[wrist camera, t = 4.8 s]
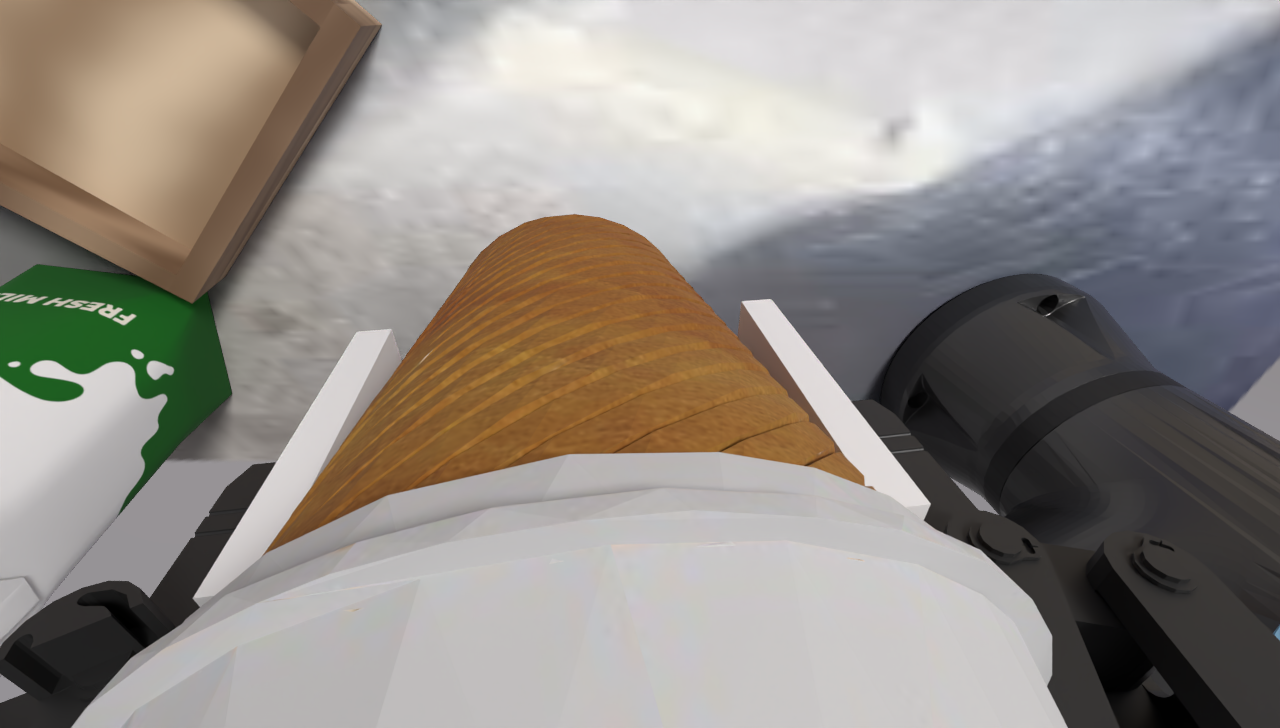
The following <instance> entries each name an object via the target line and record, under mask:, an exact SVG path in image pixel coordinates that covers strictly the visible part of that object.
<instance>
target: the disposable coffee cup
mask: <svg viewBox="0 0 1280 728" xmlns="http://www.w3.org/2000/svg"><path fill="white" fill-rule="evenodd" d="M1051 676H1052V635H1051V633H1050V631H1049V629H1048V627H1047V625H1046V624H1045V622H1044V620H1043V618H1042V616H1041V614H1040V613H1039V611H1038V609H1037V607H1036V605H1035V603H1034V601H1033V600H1032V599H1031V598H1030V597H1029V596H1028V595H1027V594H1026V593H1025V592H1024V591H1023V590H1022V589H1021V588H1020V587H1019V586H1018V585H1017V584H1016V583H1015V582H1014V581H1013V580H1011V579H1010V578H1009V577H1008V576H1007V575H1006V574H1005V573H1004V572H1003V571H1002V570H1001V569H1000V568H999V567H998V566H997V565H996V564H995V563H994V562H993V561H992V560H990V559H989V558H988V557H987V556H986V555H985V554H984V553H983V552H982V551H981V550H979V549H977V548H975V547H973V546H971V545H968V544H966V543H964V542H962V541H960V540H957V539H955V538H953V537H951V536H949V535H946V534H944V533H942V532H940V531H938V530H936V529H934V528H933V527H932V526H930V525H929V524H927V523H926V522H925V521H923V520H922V519H921V518H919V517H918V516H917V515H915V514H914V513H912V512H911V511H910V510H908V509H907V508H906V507H904V506H903V505H902V504H900V503H899V502H898V501H896V500H895V499H893V498H892V497H891V496H888V495H886V494H883V493H881V492H878V491H876V490H875V489H874V487H873V486H865V480H864V475H863V474H862V473H861V472H860V471H859V470H858V469H857V468H856V467H855V466H854V465H853V464H852V463H851V462H850V461H849V460H848V459H847V458H846V457H845V456H844V455H843V454H842V453H841V452H838V453H835V447H834V442H833V441H832V440H831V439H830V438H829V437H828V436H827V435H826V434H825V433H824V432H823V431H822V430H821V429H820V428H819V427H818V426H817V425H815V424H814V423H811V422H809V415H808V414H807V413H806V412H805V411H804V410H803V409H802V408H801V407H800V406H799V405H798V404H797V403H796V402H795V401H794V400H793V399H791V398H789V396H788V393H787V390H786V389H785V388H783V387H782V386H781V385H780V384H779V383H778V382H777V381H776V380H775V379H774V378H772V377H771V376H770V374H769V372H768V370H767V369H766V368H765V367H764V366H763V365H762V364H761V363H760V362H759V361H758V360H757V359H755V358H754V356H753V354H752V352H751V351H750V350H749V349H748V348H747V347H746V346H744V345H743V344H742V343H741V342H740V340H739V338H738V337H737V336H736V335H735V334H734V333H733V332H732V331H731V330H730V329H729V328H727V326H726V324H725V322H723V321H722V320H721V319H720V318H719V317H718V316H717V315H716V314H715V313H714V311H713V310H712V308H711V307H710V306H709V305H708V304H706V303H705V302H704V300H703V299H702V297H700V296H699V295H698V294H697V293H696V292H695V291H694V289H693V287H691V286H690V285H689V284H688V283H687V282H686V281H685V279H684V278H683V277H682V276H681V275H680V274H679V273H678V271H677V270H676V269H675V268H674V267H673V266H672V265H671V264H670V263H669V261H668V260H667V259H666V258H665V256H664V255H663V254H662V253H661V252H660V251H659V250H658V249H657V248H656V247H655V246H654V245H653V244H652V243H650V242H649V241H648V240H647V239H646V238H645V237H643V236H642V235H640V234H638V233H636V232H635V231H633V230H631V229H629V228H628V227H626V226H624V225H621V224H618V223H615V222H612V221H609V220H606V219H603V218H600V217H592V216H584V215H576V214H573V215H563V216H553V217H544V218H540V219H537V220H533V221H529V222H526V223H523V224H522V225H520V226H518V227H516V228H514V229H512V230H510V231H509V232H507V233H505V234H503V235H501V236H499V237H498V238H497V239H496V240H495V241H493V242H492V243H491V244H490V245H489V246H488V247H486V248H485V249H484V250H483V251H482V252H481V253H480V254H479V255H478V257H477V258H476V259H475V260H474V262H473V263H472V264H471V265H470V267H469V268H468V270H467V272H466V273H465V275H464V276H463V278H462V279H461V280H460V282H459V283H458V285H457V286H456V287H455V289H454V290H453V292H452V293H451V294H450V296H449V297H448V298H447V300H446V301H445V303H444V304H443V306H442V307H441V308H440V310H439V311H438V312H437V314H436V315H435V317H434V318H433V319H432V321H431V322H430V323H429V325H428V326H427V328H426V329H425V330H424V332H423V333H422V334H421V335H420V337H419V338H418V339H417V341H416V343H415V344H414V345H413V347H412V348H411V349H410V351H409V352H408V353H407V355H406V357H405V358H404V359H403V361H402V362H401V363H400V365H399V366H398V367H397V369H396V370H395V371H394V373H393V375H392V376H391V378H390V379H389V380H388V382H387V383H386V384H385V386H384V387H383V388H382V390H381V391H380V392H379V394H378V395H377V396H376V397H375V398H374V400H373V401H372V402H371V404H370V405H369V407H368V408H367V409H366V411H365V412H364V414H363V415H362V417H361V418H360V419H359V421H358V422H357V424H356V425H355V426H354V428H353V429H352V431H351V432H350V433H349V435H348V436H347V438H346V439H345V440H344V442H343V443H342V445H341V446H340V448H339V450H338V451H337V452H336V454H335V455H334V456H333V458H332V459H331V460H330V462H329V463H328V465H327V466H326V467H325V469H324V470H323V471H322V473H321V474H320V475H319V477H318V478H317V479H316V481H315V483H314V484H313V486H312V487H311V488H310V490H309V491H308V493H307V494H306V495H305V497H304V498H303V499H302V501H301V502H300V503H299V505H298V506H297V508H296V509H295V510H294V512H293V513H292V515H291V517H290V518H289V520H288V521H287V522H286V524H285V525H284V526H283V528H282V529H281V531H280V532H279V533H278V535H277V536H276V538H275V539H274V540H273V542H272V543H271V544H270V546H269V547H268V549H267V550H266V551H265V553H264V554H263V555H262V557H261V558H260V559H259V560H257V561H256V562H255V563H254V564H252V565H251V566H250V567H249V568H248V569H246V570H245V571H244V572H243V573H242V574H240V575H239V576H238V577H237V578H235V579H234V580H233V581H232V582H231V583H229V584H228V585H227V586H226V587H224V588H223V589H222V590H221V591H220V592H218V593H217V594H216V595H215V596H213V597H212V598H211V599H210V600H209V601H207V602H206V603H205V604H204V605H202V606H201V607H200V608H199V609H198V610H196V611H195V612H194V613H193V614H192V615H190V616H189V617H188V618H187V619H185V621H184V622H183V623H182V624H181V625H180V626H178V627H177V628H175V629H174V630H172V631H171V632H169V633H168V634H166V635H165V636H163V637H162V638H160V639H159V640H157V641H156V642H154V643H153V644H151V645H150V646H148V647H147V648H145V649H144V650H142V651H141V652H139V653H138V654H136V655H135V656H133V657H132V658H131V659H130V660H129V661H128V662H127V663H126V664H125V665H124V666H123V667H122V669H121V670H120V671H119V672H118V673H117V674H116V675H115V676H114V677H113V679H112V680H111V681H110V682H109V683H108V684H107V685H106V686H105V687H104V689H103V690H102V691H101V692H100V693H99V694H98V695H97V696H96V697H95V699H94V700H93V701H92V702H91V703H90V704H89V705H88V706H87V707H86V709H85V710H84V711H83V712H82V714H81V715H80V716H79V718H78V719H77V720H76V722H75V723H74V724H73V726H72V727H71V728H1068V727H1067V725H1066V723H1065V721H1064V719H1063V717H1062V715H1061V713H1060V711H1059V709H1058V707H1057V705H1056V704H1055V702H1054V700H1053V698H1052V696H1051V694H1050V692H1049V690H1048V688H1047V685H1048V683H1049V681H1050V678H1051Z"/></svg>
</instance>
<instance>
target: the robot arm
mask: <svg viewBox="0 0 1280 728" xmlns="http://www.w3.org/2000/svg"><path fill="white" fill-rule="evenodd" d="M738 338H739V340H740V342H741V343H742V344H743V345H744V346H746V347H747V348H748V349H749V350H750V351H751V352H752V354H753V356H754V358H755V359H757V360H758V361H759V362H760V363H761V364H762V365H763V366H764V367H765V368H766V369H767V370H768V372H769V374H770V376H771V377H772V378H774V379H775V380H776V381H777V382H778V383H779V384H780V385H781V386H782V387H783V388H785V389H786V390H787V393H788V396H789V398H791V399H793V400H794V401H795V402H796V403H797V404H798V405H799V406H800V407H801V408H802V409H803V410H804V411H805V412H806V413H807V414H808V415H809V422H811V423H814V424H815V425H817V426H818V427H819V428H820V429H821V430H822V431H823V432H824V433H825V434H826V435H827V436H828V437H829V438H830V439H831V440H832V441H833V442H834V447H835V453H838V452H841V453H842V454H843V455H844V456H845V457H846V458H847V459H848V460H849V461H850V462H851V463H852V464H853V465H854V466H855V467H856V468H857V469H858V470H859V471H860V472H861V473H862V474H863V475H864V480H865V486H873V487H874V489H875V490H876V491H878V492H881V493H883V494H886V495H888V496H891V497H892V498H893V499H895V500H896V501H898V502H899V503H900V504H902V505H903V506H904V507H906V508H907V509H908V510H910V511H911V512H912V513H914V514H915V515H917V516H918V517H919V518H921V519H922V520H923V521H925V522H926V523H927V524H929V525H930V526H932V527H933V528H934V529H936V530H938V531H940V532H942V533H944V534H946V535H949V536H951V537H953V538H955V539H957V540H960V541H962V542H964V543H966V544H968V545H971V546H973V547H975V548H977V549H979V550H981V551H982V552H983V553H984V554H985V555H986V556H987V557H988V558H989V559H990V560H992V561H993V562H994V563H995V564H996V565H997V566H998V567H999V568H1000V569H1001V570H1002V571H1003V572H1004V573H1005V574H1006V575H1007V576H1008V577H1009V578H1010V579H1011V580H1013V581H1014V582H1015V583H1016V584H1017V585H1018V586H1019V587H1020V588H1021V589H1022V590H1023V591H1024V592H1025V593H1026V594H1027V595H1028V596H1029V597H1030V598H1031V599H1032V600H1033V601H1034V603H1035V605H1036V607H1037V609H1038V611H1039V613H1040V614H1041V616H1042V618H1043V620H1044V622H1045V624H1046V625H1047V627H1048V629H1049V631H1050V633H1051V635H1052V676H1051V678H1050V681H1049V683H1048V685H1047V688H1048V690H1049V692H1050V694H1051V696H1052V698H1053V700H1054V702H1055V704H1056V705H1057V707H1058V709H1059V711H1060V713H1061V715H1062V717H1063V719H1064V721H1065V723H1066V725H1067V727H1068V728H1280V441H1278V440H1277V439H1275V438H1273V437H1271V436H1270V435H1268V434H1266V433H1264V432H1263V431H1261V430H1259V429H1257V428H1256V427H1254V426H1252V425H1251V424H1249V423H1247V422H1245V421H1244V420H1242V419H1240V418H1238V417H1237V416H1235V415H1233V414H1231V413H1230V412H1228V411H1226V410H1225V409H1223V408H1221V407H1219V406H1218V405H1216V404H1214V403H1212V402H1211V401H1209V400H1207V399H1205V398H1204V397H1202V396H1200V395H1198V394H1197V393H1195V392H1193V391H1191V390H1189V389H1188V388H1186V387H1184V386H1183V385H1181V384H1179V383H1178V382H1176V381H1174V380H1173V379H1171V378H1169V377H1168V376H1166V375H1164V374H1163V373H1161V372H1159V371H1158V370H1156V369H1155V368H1154V367H1153V366H1152V365H1151V363H1150V362H1149V361H1148V360H1147V359H1146V357H1145V356H1144V355H1143V354H1142V353H1141V351H1140V350H1139V349H1138V348H1137V347H1136V345H1135V344H1134V343H1133V342H1132V340H1131V339H1130V338H1129V337H1128V336H1127V334H1126V333H1125V332H1124V331H1123V330H1122V328H1121V327H1120V326H1119V325H1118V324H1117V322H1116V321H1115V320H1114V319H1113V318H1112V316H1111V315H1110V314H1109V313H1108V311H1107V310H1106V309H1105V308H1104V307H1103V305H1101V304H1100V303H1099V302H1098V301H1097V300H1096V299H1095V298H1093V297H1092V296H1090V295H1089V294H1087V293H1085V292H1083V291H1082V290H1080V289H1078V288H1076V287H1074V286H1072V285H1070V284H1068V283H1066V282H1064V281H1062V280H1060V279H1058V278H1055V277H1052V276H1048V275H1042V274H1020V275H1013V276H1008V277H1003V278H1000V279H996V280H993V281H990V282H987V283H984V284H982V285H980V286H977V287H975V288H973V289H971V290H969V291H967V292H965V293H963V294H961V295H959V296H958V297H956V298H954V299H953V300H951V301H950V302H948V303H947V304H945V305H944V306H942V307H941V308H940V309H938V310H937V311H936V312H934V313H933V314H932V315H931V316H930V317H928V318H927V319H926V320H925V321H924V322H923V323H922V324H921V325H920V326H919V327H918V328H917V329H916V330H915V331H914V332H913V333H912V334H911V335H910V337H909V338H908V339H907V340H906V342H905V343H904V344H903V345H902V347H901V348H900V350H899V351H898V353H897V354H896V356H895V358H894V359H893V361H892V363H891V365H890V367H889V369H888V371H887V374H886V376H885V380H884V383H883V387H882V393H881V405H880V404H879V403H877V402H876V401H874V400H872V399H869V400H859V401H850V400H849V398H848V397H847V396H846V394H845V393H844V392H843V391H842V389H841V388H840V387H839V385H838V384H837V383H836V382H835V380H834V379H833V378H832V376H831V375H830V374H829V373H828V371H827V370H826V369H825V368H824V366H823V365H822V364H821V362H820V361H819V360H818V359H817V357H816V356H815V355H814V353H813V352H812V351H811V350H810V348H809V347H808V346H807V344H806V343H805V342H804V341H803V339H802V338H801V337H800V335H799V334H798V333H797V332H796V330H795V329H794V328H793V326H792V325H791V324H790V323H789V321H788V320H787V319H786V317H785V316H784V315H783V314H782V312H781V311H780V310H779V308H778V307H777V306H776V305H775V303H774V302H773V301H772V300H771V299H766V300H753V301H741V311H740V320H739V330H738ZM401 362H402V359H401V356H400V353H399V350H398V347H397V344H396V341H395V338H394V334H393V331H392V329H385V330H372V331H359V332H356V334H355V336H354V337H353V339H352V340H351V342H350V344H349V345H348V347H347V349H346V350H345V352H344V353H343V355H342V357H341V358H340V360H339V362H338V363H337V365H336V366H335V368H334V370H333V371H332V373H331V375H330V376H329V378H328V379H327V381H326V383H325V384H324V386H323V388H322V389H321V391H320V392H319V394H318V396H317V397H316V399H315V401H314V402H313V404H312V405H311V407H310V409H309V410H308V412H307V414H306V415H305V417H304V418H303V420H302V422H301V423H300V425H299V427H298V428H297V430H296V431H295V433H294V435H293V436H292V438H291V440H290V441H289V443H288V444H287V446H286V448H285V449H284V451H283V453H282V454H281V456H280V457H279V459H278V461H277V462H274V463H264V464H255V465H252V466H251V467H250V468H248V469H247V470H246V471H245V472H244V473H243V474H241V475H240V476H239V477H238V478H237V479H235V480H234V481H233V482H232V483H231V484H230V485H229V486H227V487H226V488H225V490H224V491H223V493H222V494H221V496H220V497H219V498H218V500H217V501H216V503H215V504H214V506H213V507H212V509H211V510H210V511H209V513H210V515H209V517H205V519H204V520H203V522H202V523H201V524H200V526H199V527H198V529H197V530H196V532H195V538H191V539H190V540H189V542H188V543H187V545H186V546H185V548H184V549H183V551H182V552H181V554H180V555H179V556H178V558H177V559H176V561H175V562H174V564H173V565H172V567H171V568H170V570H169V571H168V572H167V574H166V575H165V577H164V578H163V580H162V581H161V582H160V584H159V585H158V587H157V588H156V590H155V591H154V593H153V594H152V596H151V597H150V598H149V597H148V596H147V595H146V594H145V593H144V592H143V591H142V590H141V589H140V588H138V587H137V586H135V585H134V584H132V583H130V582H129V581H106V582H102V583H99V584H95V585H91V586H88V587H84V588H81V589H79V590H77V591H75V592H73V593H71V594H69V595H67V596H64V597H62V598H60V599H58V600H56V601H54V602H52V603H51V604H50V605H48V606H47V607H45V608H44V609H42V610H41V611H39V612H38V613H36V614H35V615H33V616H32V617H30V618H29V619H27V620H26V621H25V622H24V623H23V624H22V625H21V626H20V627H19V628H18V629H17V630H16V631H14V632H13V633H12V634H11V635H10V636H9V637H8V638H7V639H6V640H5V641H4V642H3V643H2V645H1V646H0V674H1V675H3V676H4V677H6V678H7V679H8V680H10V681H11V682H13V683H14V684H16V685H17V686H18V687H20V688H21V689H22V690H24V691H25V692H27V693H25V694H23V695H20V696H18V697H15V698H13V699H10V700H7V701H5V702H2V703H0V728H71V727H72V726H73V724H74V723H75V722H76V720H77V719H78V718H79V716H80V715H81V714H82V712H83V711H84V710H85V709H86V707H87V706H88V705H89V704H90V703H91V702H92V701H93V700H94V699H95V697H96V696H97V695H98V694H99V693H100V692H101V691H102V690H103V689H104V687H105V686H106V685H107V684H108V683H109V682H110V681H111V680H112V679H113V677H114V676H115V675H116V674H117V673H118V672H119V671H120V670H121V669H122V667H123V666H124V665H125V664H126V663H127V662H128V661H129V660H130V659H131V658H132V657H133V656H135V655H136V654H138V653H139V652H141V651H142V650H144V649H145V648H147V647H148V646H150V645H151V644H153V643H154V642H156V641H157V640H159V639H160V638H162V637H163V636H165V635H166V634H168V633H169V632H171V631H172V630H174V629H175V628H177V627H178V626H180V625H181V624H182V623H183V622H184V621H185V619H187V618H188V617H189V616H190V615H192V614H193V613H194V612H195V611H196V610H198V609H199V608H200V607H201V606H202V605H204V604H205V603H206V602H207V601H209V600H210V599H211V598H212V597H213V596H215V595H216V594H217V593H218V592H220V591H221V590H222V589H223V588H224V587H226V586H227V585H228V584H229V583H231V582H232V581H233V580H234V579H235V578H237V577H238V576H239V575H240V574H242V573H243V572H244V571H245V570H246V569H248V568H249V567H250V566H251V565H252V564H254V563H255V562H256V561H257V560H259V559H260V558H261V557H262V555H263V554H264V553H265V551H266V550H267V549H268V547H269V546H270V544H271V543H272V542H273V540H274V539H275V538H276V536H277V535H278V533H279V532H280V531H281V529H282V528H283V526H284V525H285V524H286V522H287V521H288V520H289V518H290V517H291V515H292V513H293V512H294V510H295V509H296V508H297V506H298V505H299V503H300V502H301V501H302V499H303V498H304V497H305V495H306V494H307V493H308V491H309V490H310V488H311V487H312V486H313V484H314V483H315V481H316V479H317V478H318V477H319V475H320V474H321V473H322V471H323V470H324V469H325V467H326V466H327V465H328V463H329V462H330V460H331V459H332V458H333V456H334V455H335V454H336V452H337V451H338V450H339V448H340V446H341V445H342V443H343V442H344V440H345V439H346V438H347V436H348V435H349V433H350V432H351V431H352V429H353V428H354V426H355V425H356V424H357V422H358V421H359V419H360V418H361V417H362V415H363V414H364V412H365V411H366V409H367V408H368V407H369V405H370V404H371V402H372V401H373V400H374V398H375V397H376V396H377V395H378V394H379V392H380V391H381V390H382V388H383V387H384V386H385V384H386V383H387V382H388V380H389V379H390V378H391V376H392V375H393V373H394V371H395V370H396V369H397V367H398V366H399V365H400V363H401ZM950 477H951V478H952V479H954V480H956V481H957V482H959V483H961V484H963V485H964V486H966V487H967V488H969V489H971V490H973V491H974V492H976V493H977V494H979V495H981V496H982V497H983V498H984V499H985V500H986V501H987V502H988V503H989V504H990V505H991V506H992V507H993V508H994V510H995V511H996V512H997V513H998V514H999V515H996V514H993V513H990V512H987V511H979V510H978V509H977V508H976V507H975V506H974V505H973V504H972V502H971V501H970V500H969V499H968V498H967V497H966V496H965V494H964V493H963V492H962V491H961V490H960V489H959V487H958V486H957V485H956V484H955V483H954V482H953V480H952V479H951V478H950Z"/></svg>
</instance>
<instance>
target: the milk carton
mask: <svg viewBox="0 0 1280 728" xmlns="http://www.w3.org/2000/svg"><path fill="white" fill-rule="evenodd" d="M231 395H232V391H231V387H230V383H229V379H228V375H227V371H226V367H225V363H224V358H223V354H222V350H221V346H220V342H219V338H218V334H217V330H216V326H215V322H214V317H213V313H212V309H211V305H210V301H209V297H208V293H207V292H206V293H205V294H203V295H202V296H201V297H200V298H199V299H197V300H196V301H195V302H194V303H190V302H188V301H186V300H184V299H182V298H180V297H178V296H176V295H175V294H173V293H171V292H169V291H167V290H165V289H163V288H161V287H159V286H157V285H155V284H153V283H151V282H149V281H147V280H145V279H143V278H141V277H140V276H133V275H124V274H116V273H107V272H98V271H90V270H81V269H73V268H64V267H56V266H47V265H39V264H37V265H35V266H33V267H32V268H30V269H29V270H27V271H25V272H24V273H22V274H20V275H19V276H17V277H16V278H14V279H12V280H11V281H9V282H7V283H6V284H4V285H3V286H1V287H0V646H1V645H2V643H3V642H4V641H5V640H6V639H7V638H8V637H9V636H10V635H11V634H12V633H13V632H14V631H16V630H17V629H18V628H19V627H20V626H21V625H22V624H23V623H24V622H25V621H26V620H27V619H29V618H30V617H32V616H33V615H35V614H36V613H38V612H39V611H41V609H42V608H43V606H44V605H45V603H46V602H47V601H48V599H49V598H50V596H51V595H52V594H53V592H54V591H55V590H56V589H57V588H58V586H59V585H60V584H61V583H62V582H63V580H64V579H65V578H66V577H67V576H68V574H69V573H70V572H71V571H72V570H73V569H74V567H75V566H76V565H77V564H78V563H79V561H80V560H81V559H82V558H83V557H84V555H85V554H86V553H87V552H88V551H89V550H90V549H91V547H92V546H93V545H94V544H95V543H96V541H97V540H98V539H99V538H100V537H101V536H102V534H103V533H104V532H105V531H106V530H107V529H108V527H109V526H110V525H111V524H112V523H113V521H114V520H115V519H116V518H117V517H118V515H119V514H120V513H121V512H122V511H123V510H124V509H125V507H126V506H127V505H128V504H129V503H130V501H131V500H132V499H133V498H134V497H135V495H136V494H137V493H138V492H139V491H140V490H141V489H142V487H143V486H144V485H145V484H146V483H147V482H148V480H149V479H150V478H151V477H152V476H153V474H154V473H155V472H156V471H157V470H158V469H159V467H160V466H161V465H162V464H163V463H164V462H165V460H166V459H167V458H168V457H169V456H170V455H171V453H172V452H173V451H174V450H175V449H176V448H177V446H178V445H179V444H180V443H181V442H182V441H183V440H184V439H185V438H186V437H187V436H188V435H189V434H190V433H191V432H192V431H194V430H195V429H196V428H197V427H198V426H199V425H200V424H201V423H202V422H203V421H204V420H205V419H206V418H207V417H208V416H209V415H210V414H211V413H213V412H214V411H215V410H216V409H217V408H218V407H219V406H220V405H221V404H222V403H223V402H224V401H225V400H226V399H227V398H228V397H229V396H231ZM0 677H1V674H0Z"/></svg>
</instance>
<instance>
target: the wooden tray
mask: <svg viewBox="0 0 1280 728" xmlns="http://www.w3.org/2000/svg"><path fill="white" fill-rule="evenodd" d="M381 26H382V24H381V23H380V22H378V21H377V20H376V19H375V18H374V17H373V16H372V15H370V14H369V13H368V12H367V11H366V10H365V9H364V8H363V7H361V6H360V5H359V4H358V3H357V2H356V1H355V0H0V205H1V206H3V207H5V208H7V209H9V210H11V211H13V212H15V213H17V214H19V215H21V216H23V217H25V218H27V219H29V220H30V221H32V222H34V223H36V224H38V225H40V226H42V227H44V228H46V229H48V230H50V231H52V232H54V233H56V234H58V235H60V236H62V237H64V238H66V239H67V240H69V241H71V242H73V243H75V244H77V245H79V246H81V247H83V248H85V249H87V250H89V251H91V252H93V253H95V254H97V255H99V256H101V257H103V258H104V259H106V260H108V261H110V262H112V263H114V264H116V265H118V266H120V267H122V268H124V269H126V270H128V271H130V272H132V273H134V274H136V275H138V276H140V277H141V278H143V279H145V280H147V281H149V282H151V283H153V284H155V285H157V286H159V287H161V288H163V289H165V290H167V291H169V292H171V293H173V294H175V295H176V296H178V297H180V298H182V299H184V300H186V301H188V302H190V303H194V302H195V301H196V300H197V299H199V298H200V297H201V296H202V295H203V294H205V293H206V292H207V291H208V290H209V289H211V288H212V287H213V286H214V285H216V284H217V283H218V282H219V281H220V280H222V279H223V278H224V277H225V276H226V274H227V273H228V271H229V270H230V268H231V266H232V265H233V263H234V262H235V260H236V258H237V257H238V255H239V254H240V252H241V250H242V249H243V247H244V246H245V244H246V242H247V241H248V239H249V238H250V236H251V234H252V233H253V231H254V230H255V228H256V226H257V225H258V223H259V221H260V220H261V218H262V217H263V215H264V213H265V212H266V210H267V209H268V207H269V205H270V204H271V202H272V201H273V199H274V197H275V196H276V194H277V193H278V191H279V189H280V188H281V186H282V185H283V183H284V181H285V180H286V178H287V177H288V175H289V173H290V172H291V170H292V168H293V167H294V165H295V164H296V162H297V160H298V159H299V157H300V156H301V154H302V152H303V151H304V149H305V148H306V146H307V144H308V143H309V141H310V140H311V138H312V136H313V135H314V133H315V132H316V130H317V128H318V127H319V125H320V124H321V122H322V120H323V119H324V117H325V116H326V114H327V112H328V111H329V109H330V107H331V106H332V104H333V103H334V101H335V99H336V98H337V96H338V95H339V93H340V91H341V90H342V88H343V87H344V85H345V83H346V82H347V80H348V79H349V77H350V75H351V74H352V72H353V71H354V69H355V67H356V66H357V64H358V63H359V61H360V59H361V58H362V56H363V55H364V53H365V51H366V50H367V48H368V46H369V45H370V43H371V42H372V40H373V38H374V37H375V35H376V34H377V32H378V30H379V29H380V27H381Z"/></svg>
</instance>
